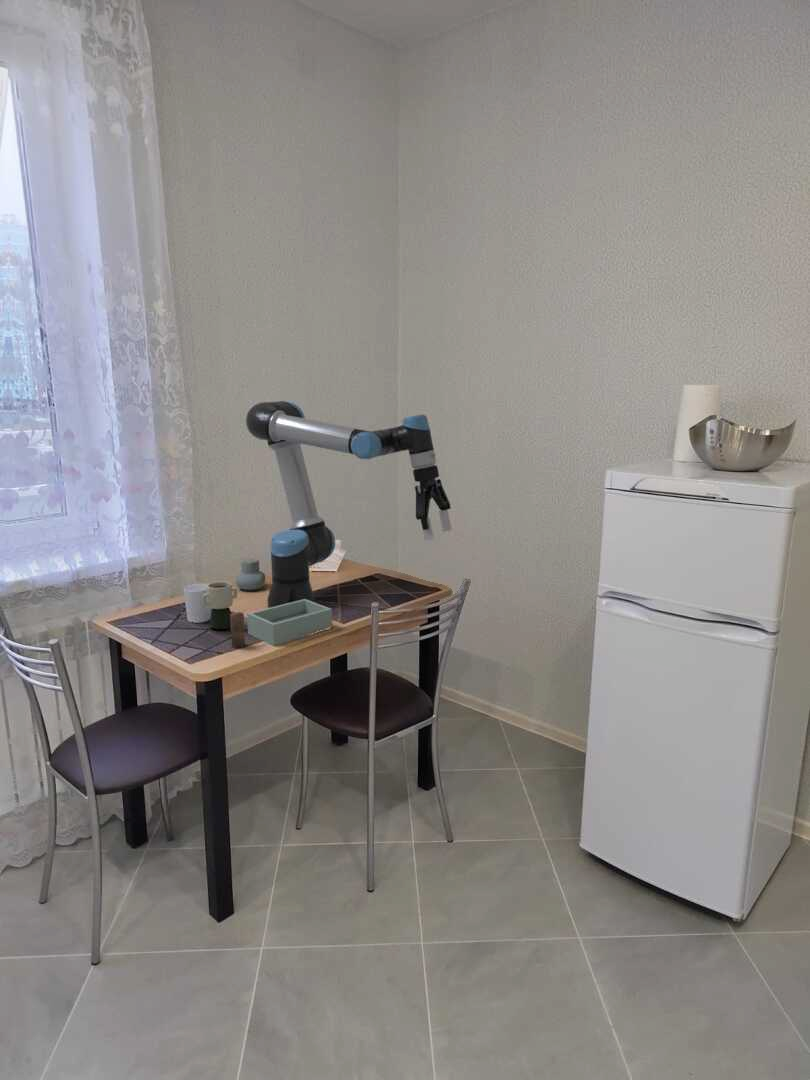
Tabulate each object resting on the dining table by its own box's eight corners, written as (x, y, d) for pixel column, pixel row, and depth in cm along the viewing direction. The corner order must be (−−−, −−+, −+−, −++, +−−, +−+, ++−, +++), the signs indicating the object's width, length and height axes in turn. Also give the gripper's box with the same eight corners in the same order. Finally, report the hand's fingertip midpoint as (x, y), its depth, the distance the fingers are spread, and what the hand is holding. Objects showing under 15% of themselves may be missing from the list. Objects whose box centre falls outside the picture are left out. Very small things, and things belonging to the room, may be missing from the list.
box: (273, 645, 192) (273, 625, 191) (248, 633, 202) (247, 613, 200) (332, 628, 206) (331, 608, 205) (305, 617, 215) (305, 598, 214)
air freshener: (243, 583, 251) (242, 556, 248) (266, 584, 250) (265, 556, 248) (235, 592, 240) (233, 564, 238) (259, 593, 240) (258, 564, 237)
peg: (229, 646, 192) (227, 615, 190) (238, 642, 195) (236, 611, 193) (238, 649, 190) (237, 617, 188) (247, 645, 193) (246, 613, 191)
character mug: (232, 620, 213) (230, 578, 210) (244, 626, 207) (242, 583, 204) (198, 628, 205) (195, 585, 202) (210, 635, 200) (207, 591, 197)
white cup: (181, 618, 214) (179, 586, 212) (206, 613, 219) (204, 582, 217) (192, 625, 208) (190, 592, 206) (217, 620, 213) (215, 587, 211)
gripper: (417, 469, 201) (432, 542, 204) (451, 459, 223) (465, 525, 226) (394, 474, 205) (410, 545, 208) (430, 464, 226) (443, 528, 229)
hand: (438, 535), depth 217 cm, fingers open, 13 cm apart
